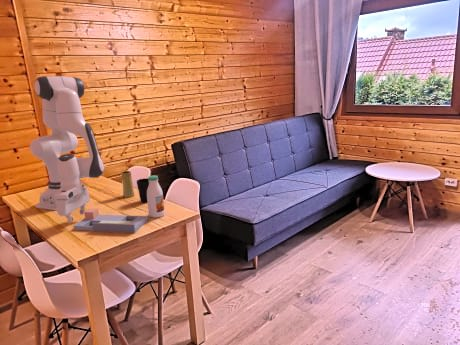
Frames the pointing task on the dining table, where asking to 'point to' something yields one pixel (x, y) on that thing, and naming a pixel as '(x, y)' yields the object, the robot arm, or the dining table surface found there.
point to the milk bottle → (155, 198)
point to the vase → (127, 184)
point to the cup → (143, 189)
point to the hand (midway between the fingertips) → (76, 217)
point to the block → (91, 213)
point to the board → (112, 223)
